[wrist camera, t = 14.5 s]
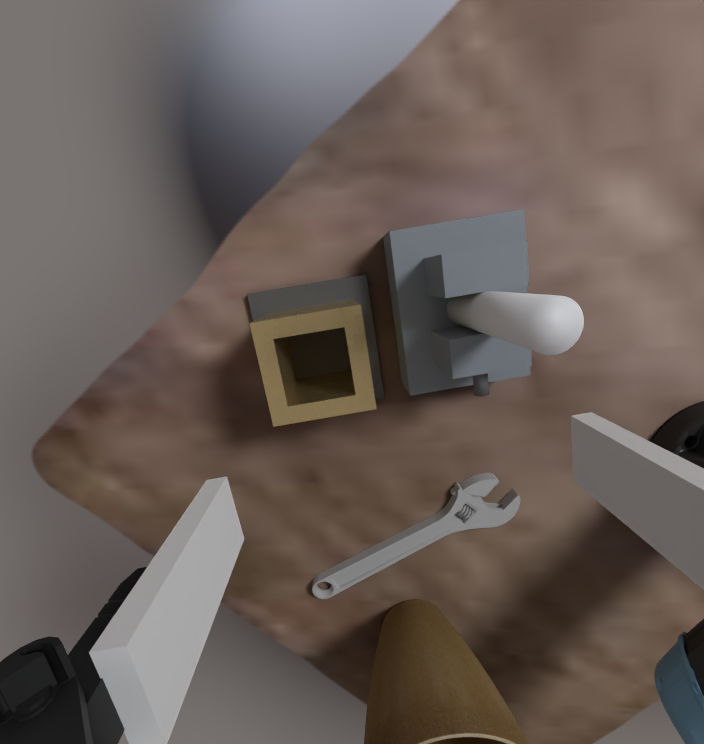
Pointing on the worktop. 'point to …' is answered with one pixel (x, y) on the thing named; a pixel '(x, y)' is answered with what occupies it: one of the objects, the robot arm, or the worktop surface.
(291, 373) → the brass collar
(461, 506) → the adjustable wrench
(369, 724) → the plant pot
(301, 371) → the rubber mat
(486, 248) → the vise
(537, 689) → the worktop surface
